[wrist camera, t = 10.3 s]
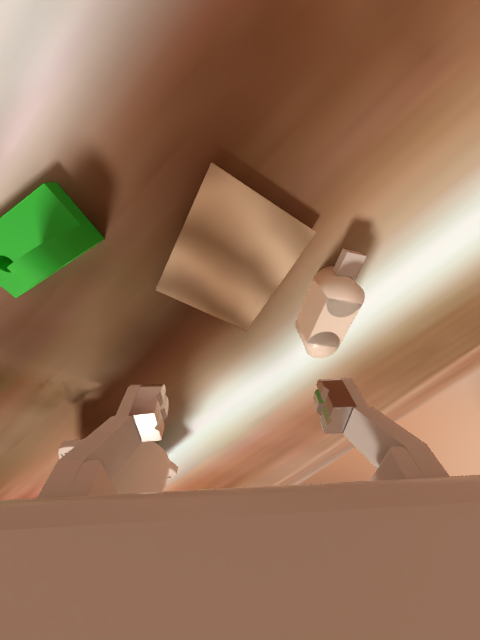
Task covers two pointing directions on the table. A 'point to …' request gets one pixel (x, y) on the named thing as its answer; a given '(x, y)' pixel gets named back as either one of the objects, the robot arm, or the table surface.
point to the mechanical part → (42, 238)
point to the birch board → (232, 250)
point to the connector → (331, 305)
